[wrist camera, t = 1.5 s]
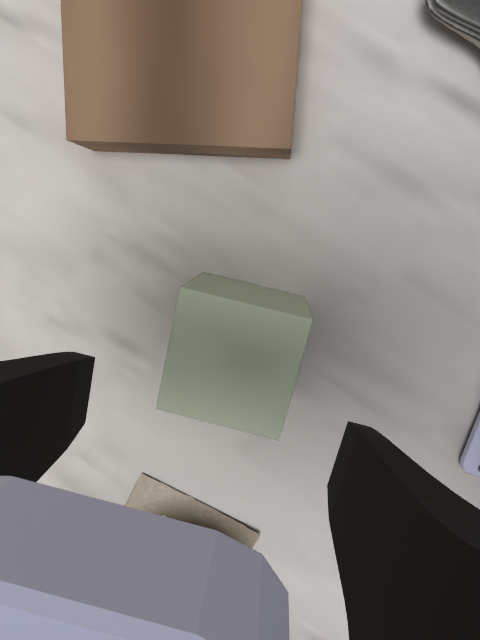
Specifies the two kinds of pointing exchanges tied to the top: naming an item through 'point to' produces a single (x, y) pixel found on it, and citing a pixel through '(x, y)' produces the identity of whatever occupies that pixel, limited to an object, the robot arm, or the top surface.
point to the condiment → (186, 510)
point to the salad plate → (458, 17)
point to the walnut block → (181, 75)
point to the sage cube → (234, 354)
